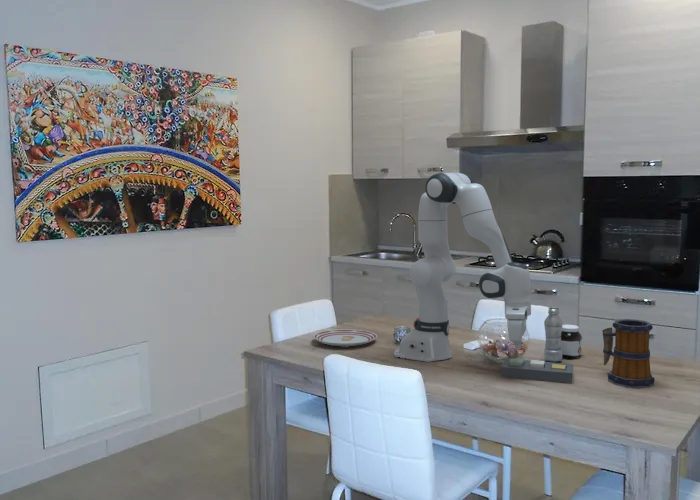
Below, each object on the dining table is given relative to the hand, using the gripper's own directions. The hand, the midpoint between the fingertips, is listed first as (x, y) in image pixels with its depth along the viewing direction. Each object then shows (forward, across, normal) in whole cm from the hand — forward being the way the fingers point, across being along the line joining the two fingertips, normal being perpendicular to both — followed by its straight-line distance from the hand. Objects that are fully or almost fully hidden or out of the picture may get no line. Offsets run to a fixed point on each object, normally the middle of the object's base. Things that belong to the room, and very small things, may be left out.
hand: (518, 348), depth 218 cm
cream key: (+6, 0, +6) cm, 9 cm away
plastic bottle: (+9, -20, +10) cm, 24 cm away
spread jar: (+9, -31, +14) cm, 35 cm away
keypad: (+9, 0, +6) cm, 11 cm away
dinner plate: (+8, -24, -75) cm, 79 cm away
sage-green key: (+6, 0, -1) cm, 6 cm away
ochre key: (+7, 0, +13) cm, 15 cm away
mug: (+10, -5, +34) cm, 36 cm away
